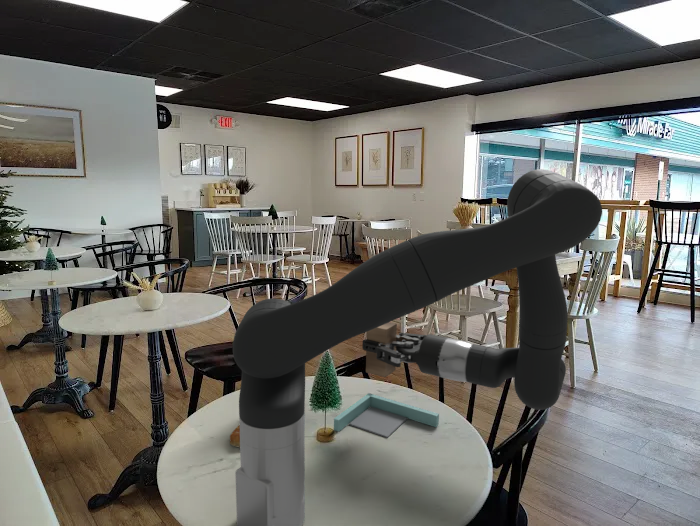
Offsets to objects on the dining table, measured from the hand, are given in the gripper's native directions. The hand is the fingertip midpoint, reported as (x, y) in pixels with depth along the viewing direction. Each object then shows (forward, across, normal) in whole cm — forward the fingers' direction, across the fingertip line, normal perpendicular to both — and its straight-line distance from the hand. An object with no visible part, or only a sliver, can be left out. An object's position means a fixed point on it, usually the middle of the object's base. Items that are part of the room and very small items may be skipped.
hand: (369, 340), depth 97 cm
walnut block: (-3, 0, +6) cm, 7 cm away
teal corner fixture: (-5, +1, +17) cm, 18 cm away
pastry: (+15, +19, +18) cm, 30 cm away
